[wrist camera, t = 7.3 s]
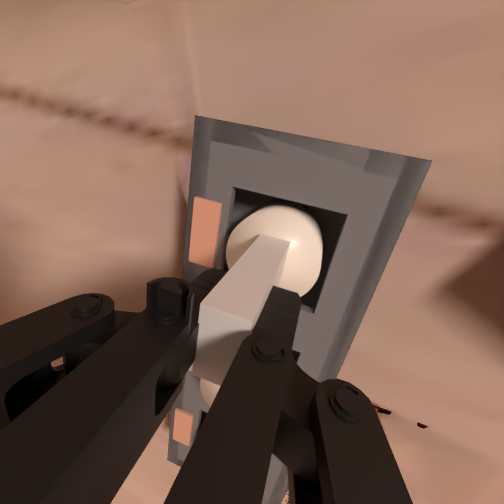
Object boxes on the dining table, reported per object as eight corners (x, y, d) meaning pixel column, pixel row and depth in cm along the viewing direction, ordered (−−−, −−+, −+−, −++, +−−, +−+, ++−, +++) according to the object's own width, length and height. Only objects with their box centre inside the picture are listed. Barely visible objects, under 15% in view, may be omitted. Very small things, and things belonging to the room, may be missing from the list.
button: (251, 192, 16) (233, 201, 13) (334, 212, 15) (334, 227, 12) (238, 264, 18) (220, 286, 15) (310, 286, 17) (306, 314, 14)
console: (224, 122, 17) (193, 114, 13) (407, 158, 14) (434, 160, 11) (188, 421, 29) (166, 462, 25) (284, 464, 27) (276, 515, 23)
